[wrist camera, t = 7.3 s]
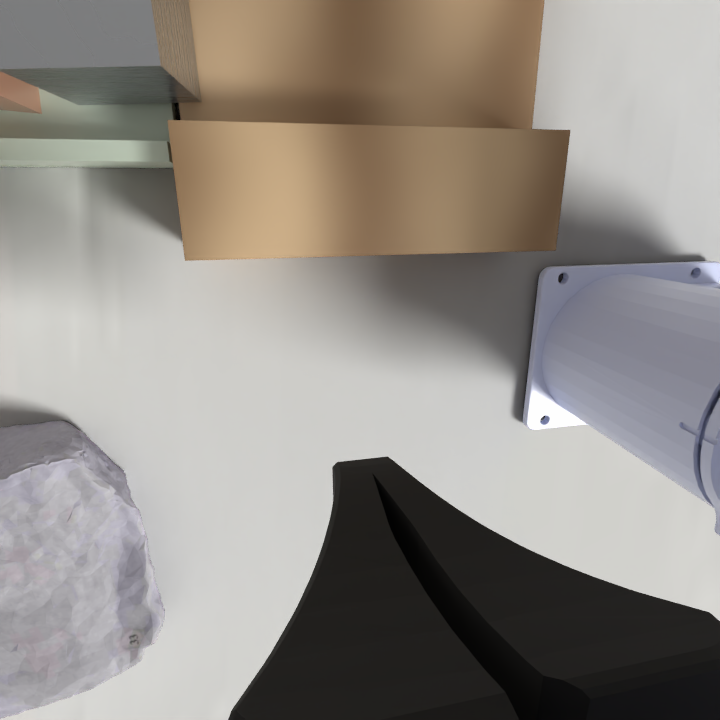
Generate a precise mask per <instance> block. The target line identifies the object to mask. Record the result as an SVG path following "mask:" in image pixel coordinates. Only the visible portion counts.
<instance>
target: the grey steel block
mask: <svg viewBox="0 0 720 720" xmlns="http://www.w3.org/2000/svg"><path fill="white" fill-rule="evenodd" d="M0 71H1V72H3V73H5V74H8V75H10V76H12V77H15V78H17V79H19V80H21V81H24V82H26V83H28V84H31V85H33V86H35V87H38V88H40V89H42V90H45V91H47V92H49V93H52V94H54V95H56V96H58V97H61V98H63V99H65V100H68V101H70V102H72V103H75V104H77V105H109V104H149V103H189V102H202V100H201V93H200V85H199V77H198V70H197V62H196V54H195V47H194V39H193V31H192V24H191V16H190V8H189V0H0Z"/></svg>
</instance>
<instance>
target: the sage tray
mask: <svg viewBox="0 0 720 720" xmlns="http://www.w3.org/2000/svg"><path fill="white" fill-rule="evenodd" d="M39 96H40V103H41V111H42V114H37V113H27V112H17V111H6V110H0V167H89V168H173V161H172V153H171V145H170V137H169V129H168V121H167V120H176V114H175V106H174V103H149V104H109V105H77V104H75V103H72V102H70V101H68V100H65V99H63V98H61V97H58V96H56V95H54V94H52V93H49V92H47V91H45V90H42V89H40V88H39Z"/></svg>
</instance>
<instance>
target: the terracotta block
mask: <svg viewBox="0 0 720 720" xmlns="http://www.w3.org/2000/svg"><path fill="white" fill-rule="evenodd" d="M0 110H6V111H17V112H27V113H37V114H42V111H41V103H40V96H39V88H38V87H35V86H33V85H31V84H28V83H26V82H24V81H21V80H19V79H17V78H15V77H12V76H10V75H8V74H5V73H3V72H1V71H0Z"/></svg>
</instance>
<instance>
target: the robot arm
mask: <svg viewBox="0 0 720 720" xmlns="http://www.w3.org/2000/svg"><path fill="white" fill-rule="evenodd" d="M692 270H693V274H692V275H691V272H692ZM561 273H563V279H562V281H561V282H558V277H559V275H560V274H561ZM719 280H720V264H719V263H718V262H713V261H696V262H667V263H637V264H608V265H579V266H550V267H546V268H545V269H543V270H542V272H541V273H540V275H539V280H538V289H537V298H536V307H535V316H534V324H533V333H532V342H531V351H530V360H529V369H528V378H527V386H526V395H525V404H524V413H523V423H524V425H525V426H526V427H528V428H529V429H531V430H537V429H546V428H556V427H565V426H575V425H585V424H588V425H589V426H591V427H592V428H594V429H595V430H597V431H598V432H600V433H601V434H603V435H604V436H606V437H607V438H609V439H610V440H612V441H614V442H615V443H617V444H618V445H620V446H621V447H623V448H624V449H626V450H627V451H629V452H630V453H632V454H633V455H635V456H636V457H638V458H639V459H641V460H642V461H644V462H645V463H647V464H648V465H650V466H651V467H653V468H654V469H656V470H657V471H659V472H660V473H662V474H663V475H665V476H666V477H668V478H669V479H671V480H672V481H674V482H676V483H677V484H679V485H680V486H682V487H683V488H685V489H686V490H688V491H689V492H691V493H692V494H694V495H695V496H697V497H698V498H700V499H701V500H703V501H704V502H706V503H707V504H709V505H710V506H712V507H713V508H715V511H716V524H715V532H716V533H717V534H718V535H720V284H719ZM543 416H545V418H544V420H543V421H540V419H541V418H542V417H543ZM332 468H333V499H334V501H333V506H332V512H331V517H330V521H329V525H328V529H327V532H326V536H325V540H324V543H323V546H322V549H321V552H320V555H319V558H318V560H317V563H316V566H315V568H314V571H313V573H312V576H311V578H310V580H309V582H308V585H307V587H306V589H305V591H304V593H303V596H302V598H301V600H300V602H299V604H298V606H297V608H296V610H295V612H294V614H293V616H292V618H291V619H290V621H289V623H288V624H287V626H286V628H285V630H284V631H283V633H282V635H281V637H280V638H279V640H278V642H277V644H276V645H275V647H274V649H273V650H272V652H271V654H270V655H269V657H268V658H267V660H266V662H265V663H264V665H263V666H262V668H261V669H260V670H259V672H258V673H257V675H256V676H255V678H254V679H253V681H252V682H251V683H250V685H249V686H248V688H247V689H246V691H245V692H244V694H243V695H242V696H241V698H240V699H239V701H238V702H237V704H236V705H235V706H234V708H233V709H232V711H231V714H230V717H229V719H228V720H720V621H719V620H717V619H716V618H715V617H714V616H713V615H712V614H710V613H709V612H706V611H702V610H699V609H695V608H692V607H688V606H685V605H681V604H678V603H674V602H671V601H667V600H663V599H660V598H656V597H653V596H649V595H646V594H642V593H639V592H636V591H633V590H629V589H627V588H624V587H621V586H618V585H615V584H612V583H609V582H606V581H604V580H601V579H598V578H595V577H592V576H590V575H587V574H585V573H582V572H579V571H577V570H574V569H572V568H569V567H567V566H564V565H562V564H560V563H557V562H555V561H553V560H551V559H548V558H546V557H544V556H541V555H539V554H537V553H535V552H533V551H531V550H528V549H526V548H524V547H522V546H520V545H518V544H516V543H514V542H512V541H511V540H509V539H507V538H505V537H503V536H501V535H499V534H498V533H496V532H494V531H492V530H490V529H488V528H487V527H485V526H483V525H482V524H480V523H478V522H477V521H475V520H473V519H472V518H470V517H469V516H467V515H466V514H464V513H463V512H461V511H459V510H458V509H456V508H455V507H453V506H452V505H450V504H449V503H448V502H446V501H445V500H443V499H442V498H440V497H439V496H438V495H436V494H435V493H434V492H432V491H431V490H430V489H428V488H427V487H426V486H424V485H423V484H422V483H420V482H419V481H418V480H417V479H415V478H414V477H413V476H412V475H410V474H409V473H408V472H406V471H405V470H404V469H403V468H402V467H400V466H399V465H398V464H397V463H395V462H394V461H393V460H391V459H390V458H389V457H380V458H371V459H362V460H353V461H344V462H337V463H336V464H335V465H334V466H333V467H332Z"/></svg>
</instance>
